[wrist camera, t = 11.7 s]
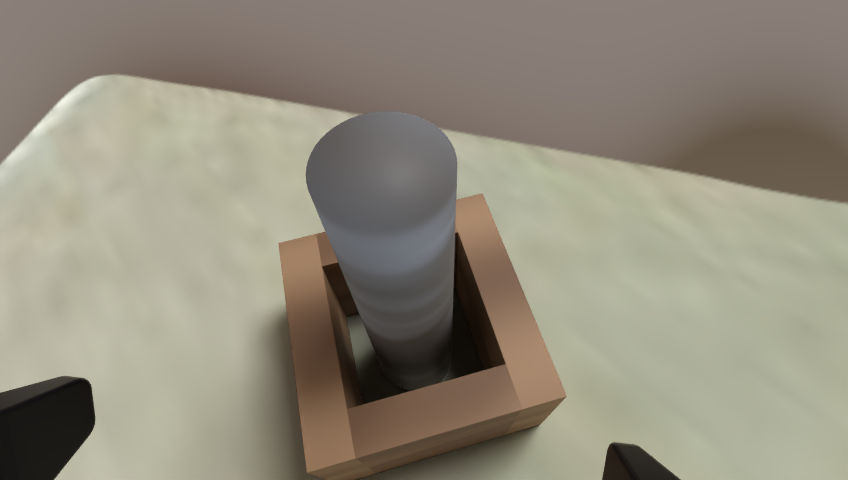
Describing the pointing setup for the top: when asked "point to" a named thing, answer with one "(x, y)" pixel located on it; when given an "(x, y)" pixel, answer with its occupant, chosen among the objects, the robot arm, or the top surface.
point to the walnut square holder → (429, 406)
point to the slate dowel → (393, 235)
